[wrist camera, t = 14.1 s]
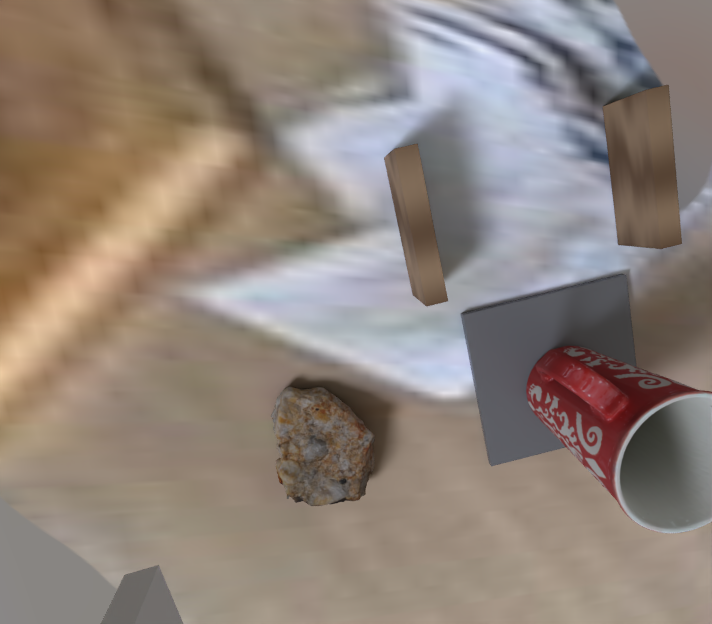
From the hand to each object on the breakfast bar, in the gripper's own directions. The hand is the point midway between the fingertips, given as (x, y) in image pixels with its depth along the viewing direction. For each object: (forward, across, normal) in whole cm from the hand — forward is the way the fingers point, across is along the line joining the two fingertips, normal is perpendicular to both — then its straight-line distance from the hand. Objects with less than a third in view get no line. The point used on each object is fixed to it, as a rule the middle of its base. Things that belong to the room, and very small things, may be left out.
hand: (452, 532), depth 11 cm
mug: (+27, +15, -11) cm, 33 cm away
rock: (+28, -6, -12) cm, 31 cm away
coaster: (+28, +16, -11) cm, 34 cm away
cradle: (+28, +15, +4) cm, 32 cm away
